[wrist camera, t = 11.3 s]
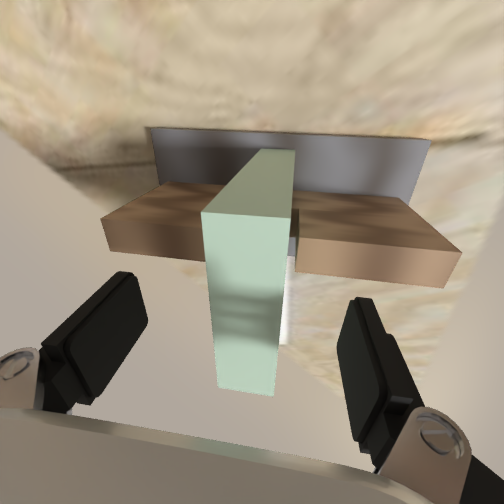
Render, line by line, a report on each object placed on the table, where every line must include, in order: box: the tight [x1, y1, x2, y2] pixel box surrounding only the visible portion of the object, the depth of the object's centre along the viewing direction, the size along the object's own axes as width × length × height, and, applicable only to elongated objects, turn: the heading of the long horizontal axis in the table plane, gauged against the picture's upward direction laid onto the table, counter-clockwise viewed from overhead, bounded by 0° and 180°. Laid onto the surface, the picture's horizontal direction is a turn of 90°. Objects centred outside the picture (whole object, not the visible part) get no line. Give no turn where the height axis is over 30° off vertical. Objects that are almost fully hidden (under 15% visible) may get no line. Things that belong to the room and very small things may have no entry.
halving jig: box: [101, 128, 462, 288], centre depth 20 cm, size 24×12×12 cm, turn 89°
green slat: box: [201, 149, 295, 396], centre depth 17 cm, size 3×10×16 cm, turn 0°
